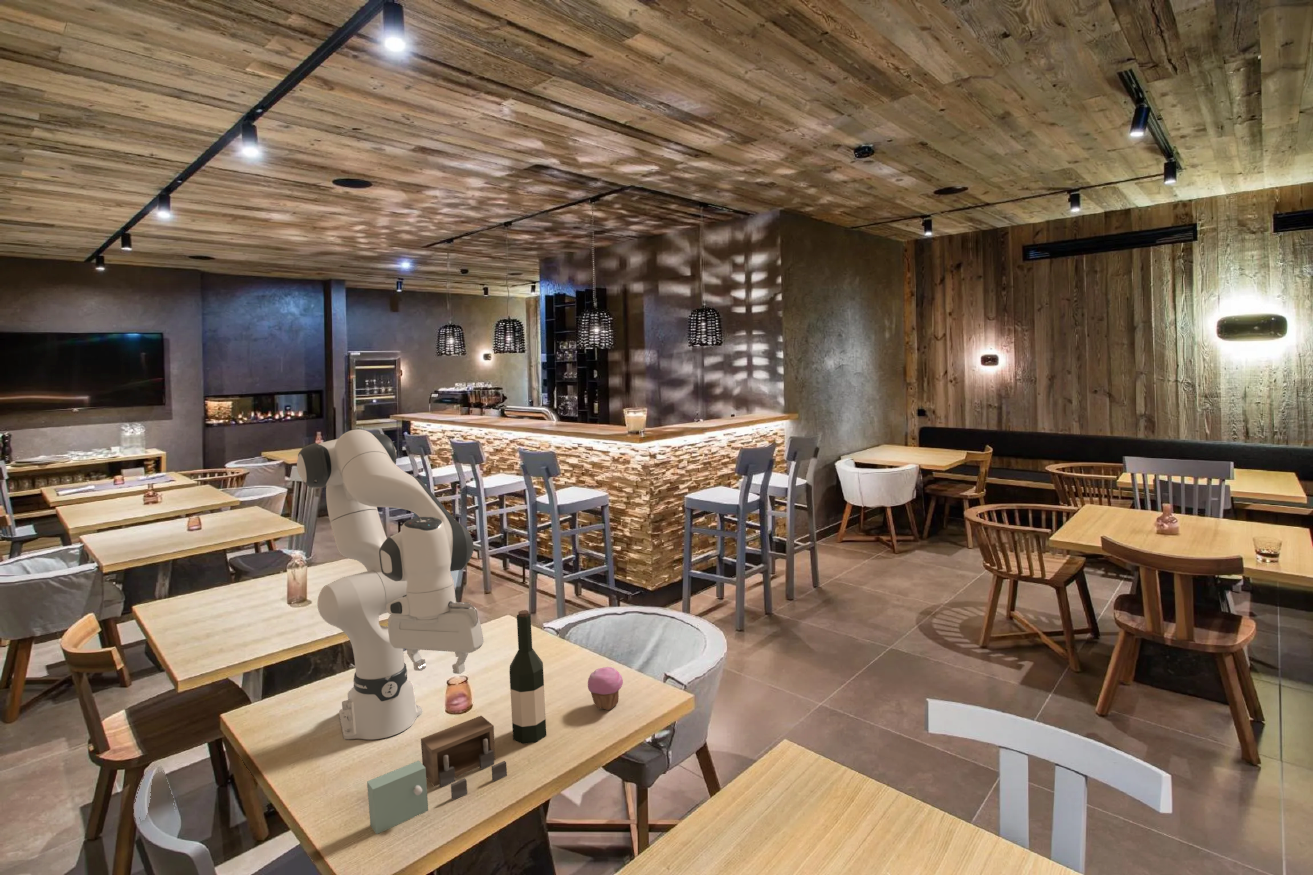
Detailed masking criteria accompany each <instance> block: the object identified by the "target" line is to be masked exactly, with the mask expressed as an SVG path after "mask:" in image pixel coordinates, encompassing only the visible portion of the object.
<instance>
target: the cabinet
mask: <svg viewBox="0 0 1313 875" xmlns="http://www.w3.org/2000/svg"><path fill="white" fill-rule="evenodd" d="M495 745H496V744H495V728H494V724H492V723H491V722H490V721H488V720H487V719H486V718H485V717H484V716H483V715H478V716H477V717H474V718H471V719H468V720H466V721H464V722H460V723H458V724H456V725H453V726H451V727H447V728H445V729H442V730H439V731H438V732H435V733H432V734H430V735H428V736H427V735H426V736H423V737H422V738H420V747H421V758H422V759H421V760H422V761H421V763H422V764H423V766H424V767H425V768H426V780H428V781H429V782H430V783H431V784H432V786H433V787H436V786H440V787H441V788H442V787H446V786H447V785H448V786H449V785H450V793H451V800H452V801H455V800H457V799H459V798H461V797H463V796H466V795H468V786H467V785H468V784H467V779H466V778H462V779H460V780H458V781H456V778H457V777H459V776H461V775H463V774H466V773H468V772H471V771H473V770H475V769H478V768H479V769H480V770H484V769H487V768H489V767H491V778H492V779H491V780H492V781H493V782H496V781H498V780H500V779H503V778H505V777H507V776H508V772H507V770H508V769H507V762H506V761H505V760H502V761H501V762H499V763H496V764H495V761H496V746H495Z"/></svg>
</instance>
